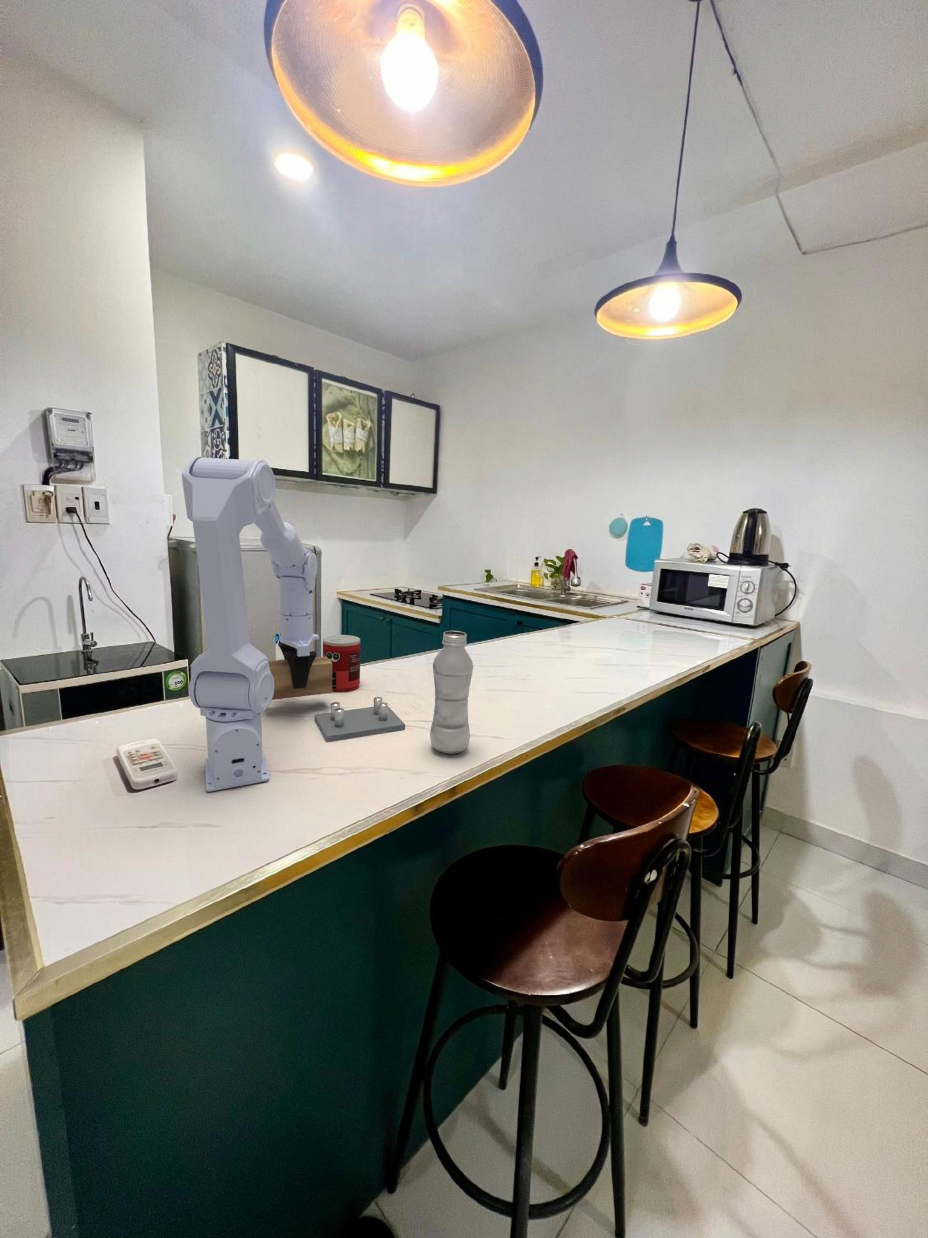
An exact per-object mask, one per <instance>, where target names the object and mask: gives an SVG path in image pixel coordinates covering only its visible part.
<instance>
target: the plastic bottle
mask: <svg viewBox="0 0 928 1238" xmlns="http://www.w3.org/2000/svg"><path fill="white" fill-rule="evenodd" d="M467 636H468V635H467V633H466V632H464V631H459V630H447V631H444V632H443V636H442V643H441V644H442V645H443V647H442V648H441V649H440V651H438V653H437V655H436V656H435V657H434V659H433V662H432V673H433V682H434V709H433V717H432V722H431V726H430V731H429V739H430V744H431V745H432V747H433V749H434V750H436V751H437V752H439V753H443V754H450V755H452V754H459V753H462V752H464V751H465V750H466V748H468V746H469V744H470V740H471V739H470V738H471V732H470V731H471V730H470V729H471V728H470V724H469V696H470V695H469V694H470V686H471V681H472V677H473V672H474V664H473V660H472V658H471V656H470V654H469V653H468V651H467V650H466V649H465V648H466V646H467V644H468V643H467Z"/></svg>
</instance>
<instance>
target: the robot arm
mask: <svg viewBox="0 0 928 1238" xmlns="http://www.w3.org/2000/svg"><path fill="white" fill-rule="evenodd" d="M181 480H182V481H181V482H182V488H183V495H184V496H183V498H184V504H185V510H186V518H187V519H188V520H189V521H191V522H192V527H193V528H192V529H193V534H194V541H195V542H194V543H195V551H196V559H197V566H198V573H199V582H200V587H201V588H200V590H201V597H202V598H201V599H202V604H203V613H204V614H203V615H204V621H205V628H206V636H207V645H208V648H207V649H206V650H205V651H203V652H202V653H200V654H199V655H197V657H196V658H195V659H194V660H193V661H192V663H191V664H190V682H189V689H188V694H189V698H190V701H191V703H192V705H193V706H194V707H195V708H197V709H199V713H200V716H203V717H205V724H206V725H205V726H206V729H205V730H206V741H207V742H206V745H207V757H206V758H205V760H204V761H205V762H204V764H205V767H204V768H205V791H206V792H214V791H219V790H224V789H231V788H235V787H241V786H246V785H251V784H257V783H261V782H262V783H263V782H267V781H270V774H269V773H270V772H269V769H268V765H267V762H266V761H267V760H266V758H265V754H264V750H263V730H262V729H263V728H262V727H263V724H262V713H263V712H264V711H265V710H266V709H268V707H269V706H270V705H271V702H272V701H273V700H272V698H273V694H274V678H273V676H272V674H271V672H270V668H269V663H268V661H269V658H268V656H266V655H265V654H264V653H263V652H262V651H260V650H259V649H258V648H257V647H255V646H254V645H252V644H251V640H250V631H249V620H248V618H249V617H248V612H247V611H248V610H247V599H246V591H245V590H246V589H245V588H246V587H245V580H244V570H243V569H244V568H243V560H242V549H241V539H240V534H241V532H242V530H243V529H244V527H247V526H249V525H252V524H254V525H256V527H257V529H259V530H260V531H261V535H260V542H261V544H262V546H263V548H264V549H265V551H266V552H267V554H268V555H269V556H270V558H271V559H270V563H271V564H272V570H273V574H274V577H276V578H277V579H279V612H280V613H279V621H280V624H279V625H280V635H279V636H278V637H279V643H277V645H278V647H279V648H280V650H281V653H282V656H283V660H287V662H288V664H289V668H290V672H291V678H292V683H293V686H294V689H297V688H305V687H306V685H307V681H308V676H309V672H310V668H311V665H312V663H313V661H314V659H315V658H316V657H317V655H318V652H316V650H313V651H310V650H311V649H310V647H311V645H312V643H313V642H314V641H317V640H320V636H319V634H317V633H313V631H314V629H313V627H314V626H313V622H314V621H313V611H314V610H313V609H314V608H313V590H314V589H315V586H316V578H317V573H318V565H319V564H318V560H317V556H316V553H314V552H312V551H311V550H310V549H307V548H306V547H305V546H304V544H303V542H302V540H301V538H300V536H299V535H298V533H297V532H296V530H295V528H294V526H293V525H292V524H291V523H289V522H286V521H283V519H282V516H281V514H280V512H279V510H278V507H277V505H276V503H275V495H276V479H275V474H274V471H273V470H272V467H271V466H270V464H269V463H268V462H267V461H266V460H264V459H260V458H257V459H254V460H253V459H236V458H235V459H234V458H219V457H218V458H217V457H205V456H200V455H199V456H198V455H197V456H194V457H192V458H191V459H190V460H189V462H188V463H187V465H186V466H185V468H184V470H183V471H182V473H181Z"/></svg>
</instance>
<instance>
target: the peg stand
mask: <svg viewBox="0 0 928 1238" xmlns="http://www.w3.org/2000/svg"><path fill="white" fill-rule="evenodd" d="M388 704H389V703H388V702H384V701H383V697H381V696H375V697H374V698H373V706H369V707H361V708H355V709H354V708H353V709H347V710H346V709H344V708H343V707H341V702H338V701H335V702H334V701H333V702H330V712H324V713H316V714H314V721H315V723H316V724H317V727H318V729H319V730H320V732H321V734H322V736H323V738H324V740H325V742H326V743H328V742H329V743H330V742H336V741H342V740H347V739H348V740H349V739H354V738H361V737H367V736H372V735H373V736H374V735H379V734H385V733H393V732H398V731H404V730H406V724H405V722H403V720H401V718H400V717H399V716H398V715H397V714H396V713H395V712H394V710H392V709H391V708H390V706H389V705H388Z"/></svg>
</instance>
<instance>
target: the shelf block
mask: <svg viewBox="0 0 928 1238" xmlns="http://www.w3.org/2000/svg"><path fill="white" fill-rule="evenodd" d="M268 663H269V668H270V672H271V674H272V676H273V678H274V694H273V698H272V701H275V700H283V699H292V698H300V697H309V696H319V695H326V694H332V693H333V692H332V663H331V661H330V660H329V659H328V658H327V657H323V656H316V658H315V659H314V661H313V663H312V665H311V668H310V672H309V676H308V681H307V685H306V687H305V688H297V689H294V686H293V683H292V678H291V672H290V668H289V664H288V662H287V660H285V659H277V660H268Z"/></svg>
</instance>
